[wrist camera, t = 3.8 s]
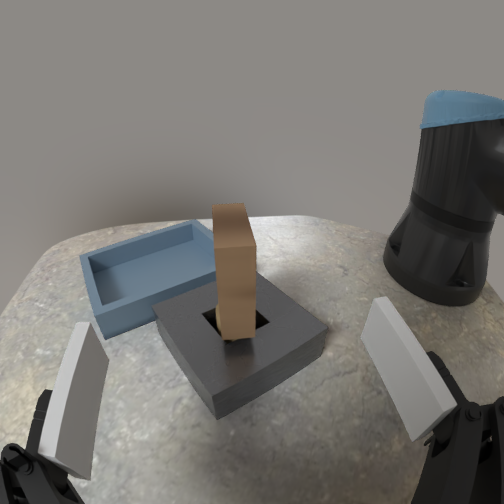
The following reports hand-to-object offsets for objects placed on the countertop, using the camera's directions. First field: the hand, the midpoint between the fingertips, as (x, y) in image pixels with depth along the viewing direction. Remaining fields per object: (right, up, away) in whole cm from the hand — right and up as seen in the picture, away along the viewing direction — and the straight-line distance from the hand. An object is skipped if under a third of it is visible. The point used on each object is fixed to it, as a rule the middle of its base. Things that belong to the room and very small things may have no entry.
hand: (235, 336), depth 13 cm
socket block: (-1, -4, +11) cm, 12 cm away
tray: (-10, +1, +19) cm, 21 cm away
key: (-1, -4, +11) cm, 12 cm away
